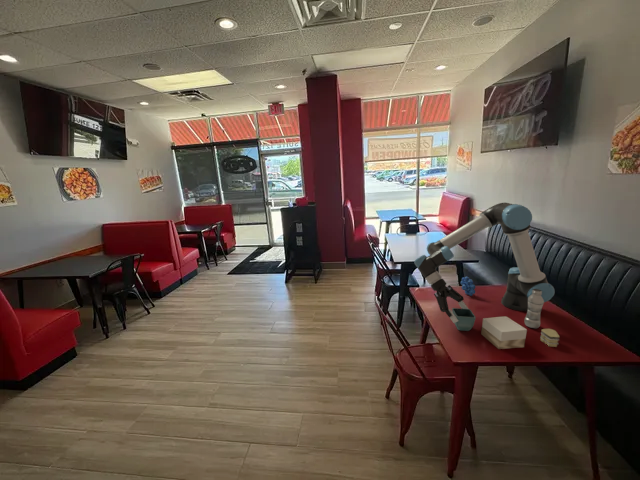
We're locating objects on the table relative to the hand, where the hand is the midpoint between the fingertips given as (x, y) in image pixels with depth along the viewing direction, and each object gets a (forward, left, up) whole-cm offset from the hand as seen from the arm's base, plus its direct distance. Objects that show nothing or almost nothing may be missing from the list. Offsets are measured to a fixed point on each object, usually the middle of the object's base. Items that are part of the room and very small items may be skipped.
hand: (462, 317), depth 136 cm
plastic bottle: (-35, +3, -7) cm, 36 cm away
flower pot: (0, 0, -7) cm, 7 cm away
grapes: (-25, -37, -7) cm, 45 cm away
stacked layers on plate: (-32, +16, -7) cm, 37 cm away
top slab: (-13, +12, -2) cm, 17 cm away
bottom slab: (-13, +12, -7) cm, 18 cm away
